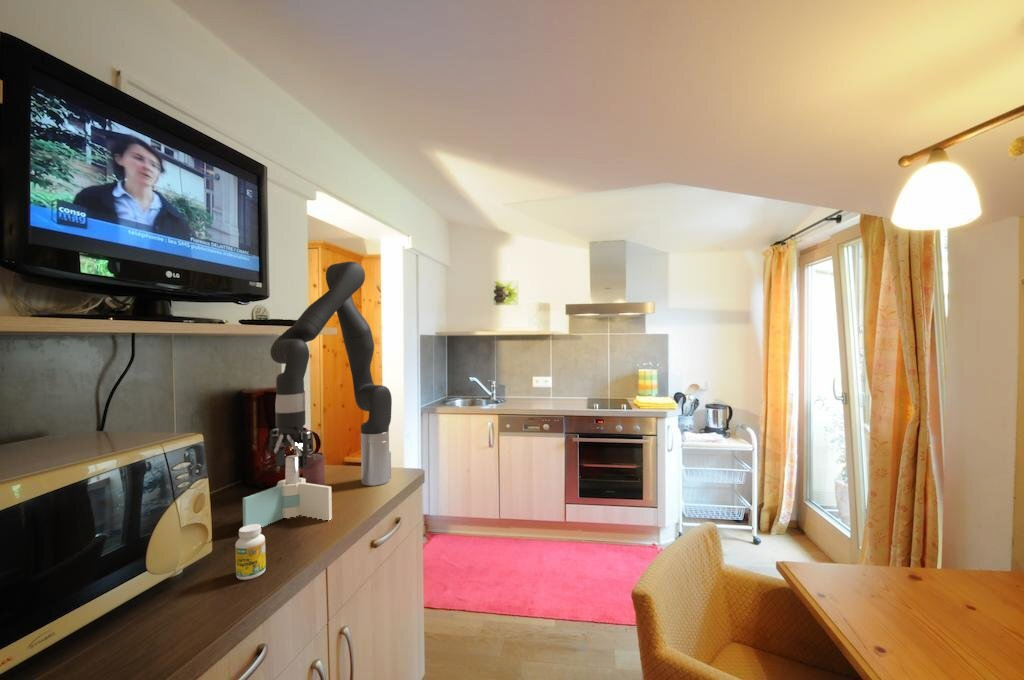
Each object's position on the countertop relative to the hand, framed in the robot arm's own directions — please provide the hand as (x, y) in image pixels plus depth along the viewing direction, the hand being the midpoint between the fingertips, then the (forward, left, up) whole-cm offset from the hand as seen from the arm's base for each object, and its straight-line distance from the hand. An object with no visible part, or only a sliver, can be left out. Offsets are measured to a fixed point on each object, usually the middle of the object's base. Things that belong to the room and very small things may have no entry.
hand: (291, 467), depth 125 cm
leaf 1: (+5, 0, -13) cm, 14 cm away
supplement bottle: (+27, +20, -13) cm, 36 cm away
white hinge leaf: (0, +5, -13) cm, 14 cm away
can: (-10, -2, -13) cm, 17 cm away
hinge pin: (0, 0, -13) cm, 13 cm away
